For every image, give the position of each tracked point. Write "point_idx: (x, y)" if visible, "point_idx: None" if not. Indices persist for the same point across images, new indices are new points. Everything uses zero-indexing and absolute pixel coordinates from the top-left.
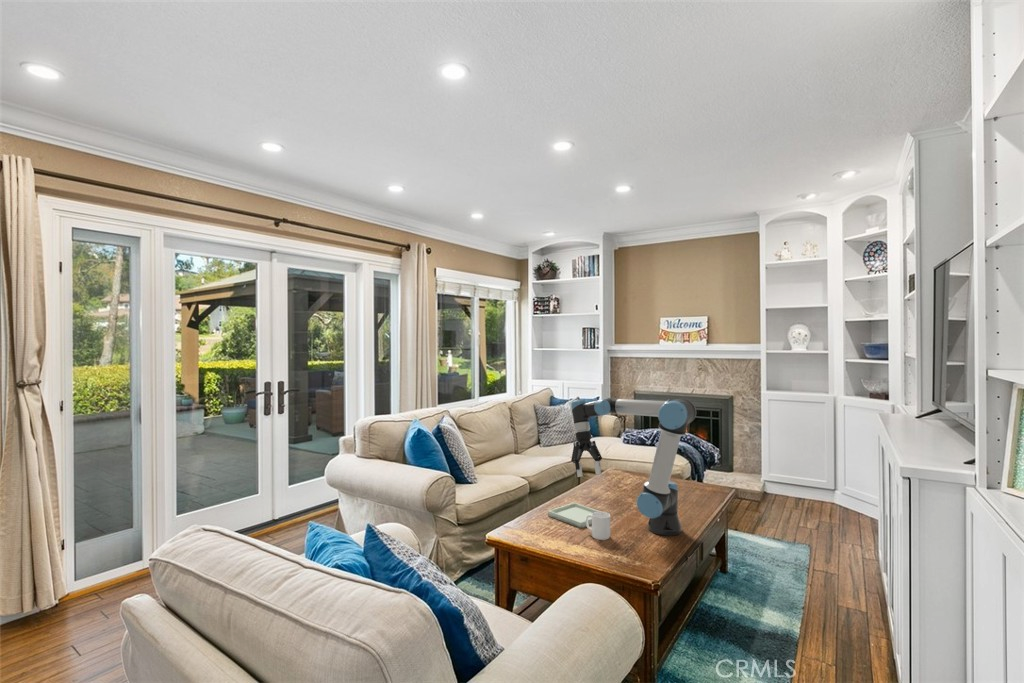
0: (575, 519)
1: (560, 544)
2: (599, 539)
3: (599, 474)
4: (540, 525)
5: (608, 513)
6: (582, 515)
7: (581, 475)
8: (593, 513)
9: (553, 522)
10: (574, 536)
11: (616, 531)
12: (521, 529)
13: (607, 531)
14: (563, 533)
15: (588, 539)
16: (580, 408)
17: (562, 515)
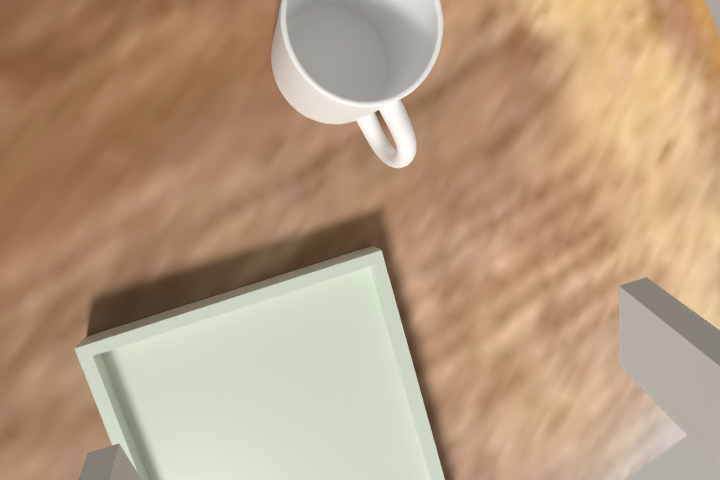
0: (342, 365)
1: (608, 76)
2: (371, 22)
3: (126, 457)
4: (564, 374)
5: (283, 12)
6: (253, 419)
7: (660, 291)
8: (397, 94)
9: (474, 392)
10: (479, 142)
11: (172, 91)
12: None
13: None
14: (511, 211)
15: None
16: None
17: (419, 418)
